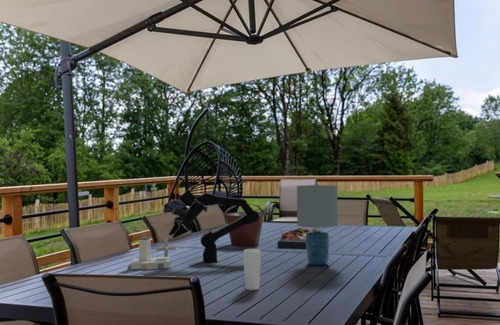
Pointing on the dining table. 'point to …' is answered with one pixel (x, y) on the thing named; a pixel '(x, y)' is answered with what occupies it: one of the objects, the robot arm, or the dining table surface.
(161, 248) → the pipe connector
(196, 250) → the dining table surface
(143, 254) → the plug
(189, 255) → the dining table surface
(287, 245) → the food platter
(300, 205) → the lamp
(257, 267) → the drinking glass
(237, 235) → the bucket
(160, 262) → the socket panel
